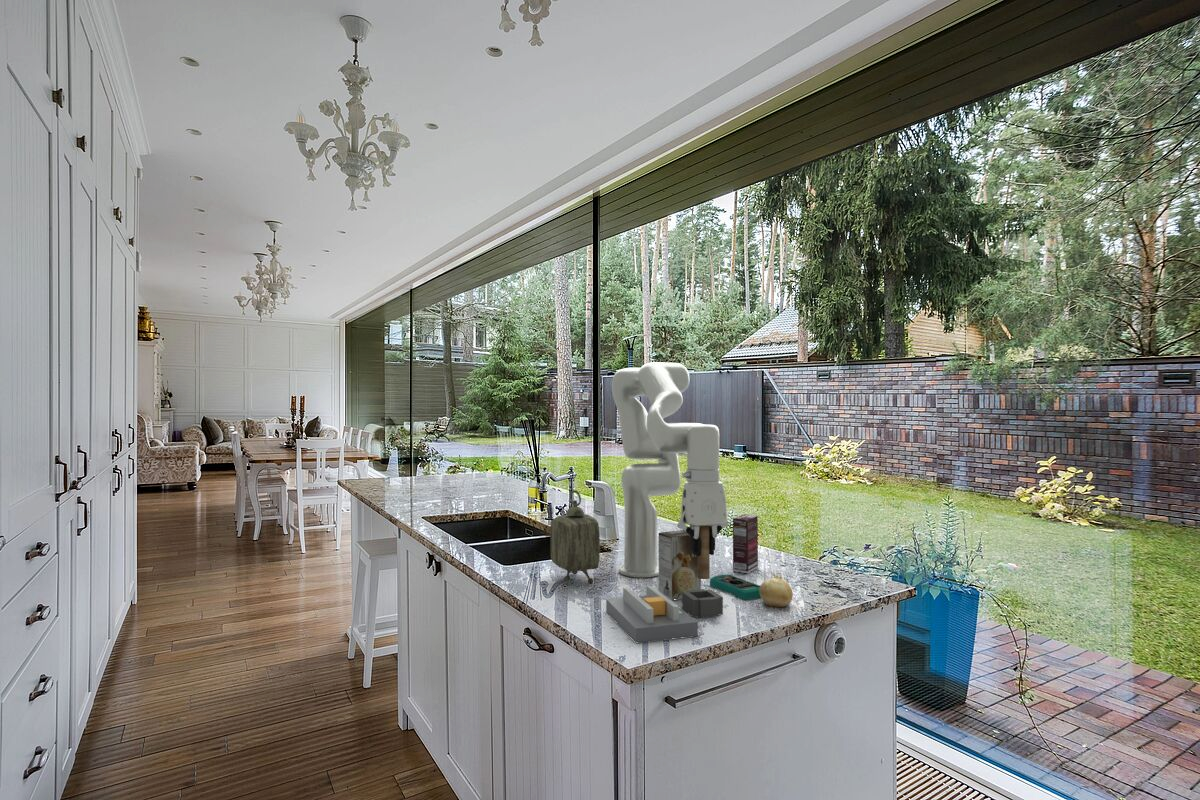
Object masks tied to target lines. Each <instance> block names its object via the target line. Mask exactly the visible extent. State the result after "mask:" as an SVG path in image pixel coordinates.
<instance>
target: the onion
mask: <svg viewBox="0 0 1200 800" xmlns="http://www.w3.org/2000/svg"><path fill="white" fill-rule="evenodd" d="M771 574H772V576H773V577H772V578H768V579H766V580H763V582H761V584H760V585H759V586H760V589H759V593H760V596H761V597H760V598H761V599H762V602H763V603H764V604H765V605H766V606H769V607H772V608H773V607H774V608H783V607H786V606H787V605H788V604H790V603H791V602H792V600H793V596H794V591H793V589H792V587H791V586H790V584H789V583H788V582H787V581H786V580H785V579H783V577H782V576H781V575H779V574H776V575H775V574H774V573H771Z"/></svg>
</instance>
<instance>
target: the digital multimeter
mask: <svg viewBox="0 0 1200 800" xmlns="http://www.w3.org/2000/svg"><path fill="white" fill-rule="evenodd" d="M709 586H710V587H712V586H713V587H712V588H715V587H716V588H715V589H717V588H718V589H717V590H720V589H721V590H720V591H722V590H723V592H725V591H726V592H725V593H727V592H728V593H727V594H730V593H731V594H730V595H732V594H733V595H732V596H734V595H735V597H737V598H739V599H741V598H742V600H744V601H747V600H748V599H749V600H754V599H755V600H756V599H759V598H761V596H760V593H759V589H760V586H761V585H759V584H756V583H754V582H752V581H751V582H750V581H748V580H744V579H743V578H740V577H737V576H735V575H732V574H719V575H715V576H712V577H711V578H709Z"/></svg>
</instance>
